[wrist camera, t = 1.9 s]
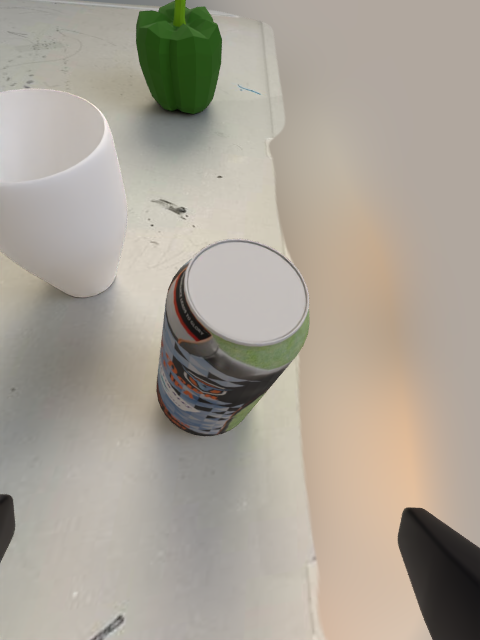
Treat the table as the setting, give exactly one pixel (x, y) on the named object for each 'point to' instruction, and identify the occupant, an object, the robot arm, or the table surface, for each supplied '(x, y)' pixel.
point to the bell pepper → (179, 55)
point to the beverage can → (228, 333)
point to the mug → (60, 190)
